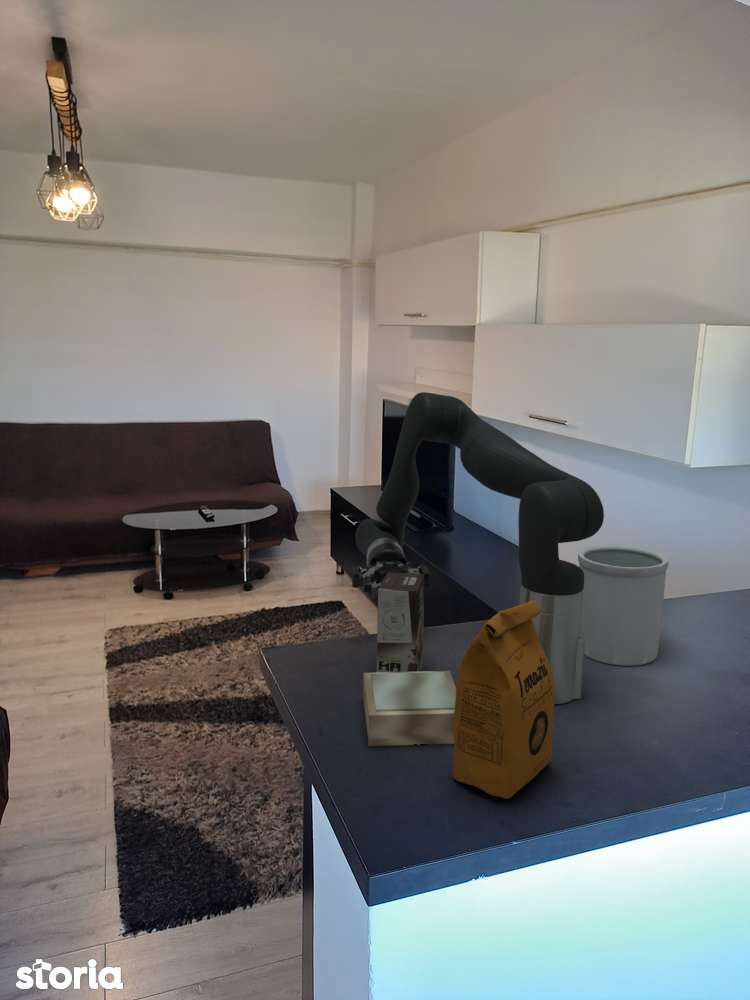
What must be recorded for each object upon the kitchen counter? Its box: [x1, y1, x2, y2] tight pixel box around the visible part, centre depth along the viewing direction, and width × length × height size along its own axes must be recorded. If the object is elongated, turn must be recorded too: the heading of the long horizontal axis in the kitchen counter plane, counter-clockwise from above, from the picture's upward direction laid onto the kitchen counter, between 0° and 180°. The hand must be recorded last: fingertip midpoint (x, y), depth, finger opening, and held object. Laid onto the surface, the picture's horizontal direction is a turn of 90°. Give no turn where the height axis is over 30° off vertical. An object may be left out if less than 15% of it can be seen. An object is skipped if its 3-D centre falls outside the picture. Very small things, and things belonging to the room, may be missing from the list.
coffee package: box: [452, 601, 556, 800], centre depth 92 cm, size 10×12×22 cm
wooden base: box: [362, 670, 457, 747], centre depth 107 cm, size 13×13×5 cm
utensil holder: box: [577, 544, 669, 667], centre depth 131 cm, size 15×15×18 cm
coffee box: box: [376, 572, 425, 672], centre depth 120 cm, size 9×6×16 cm
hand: (394, 589), depth 131 cm, fingers open, 8 cm apart
